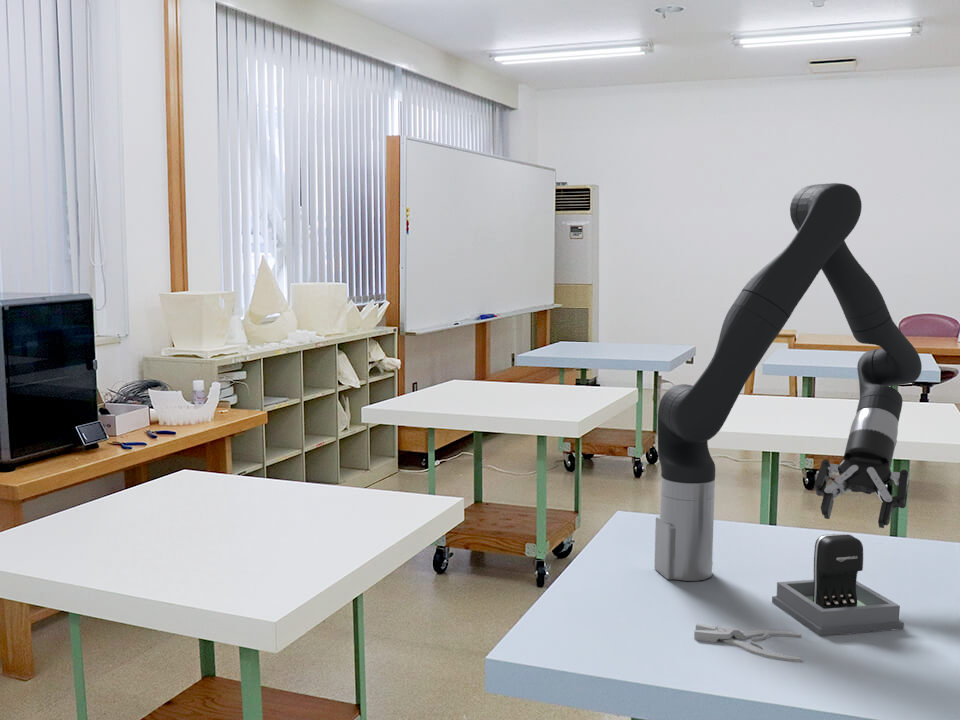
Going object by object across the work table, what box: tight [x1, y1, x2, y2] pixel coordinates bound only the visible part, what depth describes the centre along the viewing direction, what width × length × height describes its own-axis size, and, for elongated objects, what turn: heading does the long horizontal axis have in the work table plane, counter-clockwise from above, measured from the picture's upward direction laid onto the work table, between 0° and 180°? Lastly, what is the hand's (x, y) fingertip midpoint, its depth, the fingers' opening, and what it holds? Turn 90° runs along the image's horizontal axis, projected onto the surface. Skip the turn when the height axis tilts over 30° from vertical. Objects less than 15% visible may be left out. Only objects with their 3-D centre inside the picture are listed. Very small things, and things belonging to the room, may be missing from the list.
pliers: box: [693, 623, 803, 663], centre depth 139 cm, size 10×2×15 cm
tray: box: [771, 579, 905, 637], centre depth 149 cm, size 14×14×4 cm
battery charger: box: [813, 533, 864, 609], centre depth 148 cm, size 7×4×11 cm, turn 103°
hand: (853, 520), depth 156 cm, fingers open, 8 cm apart
